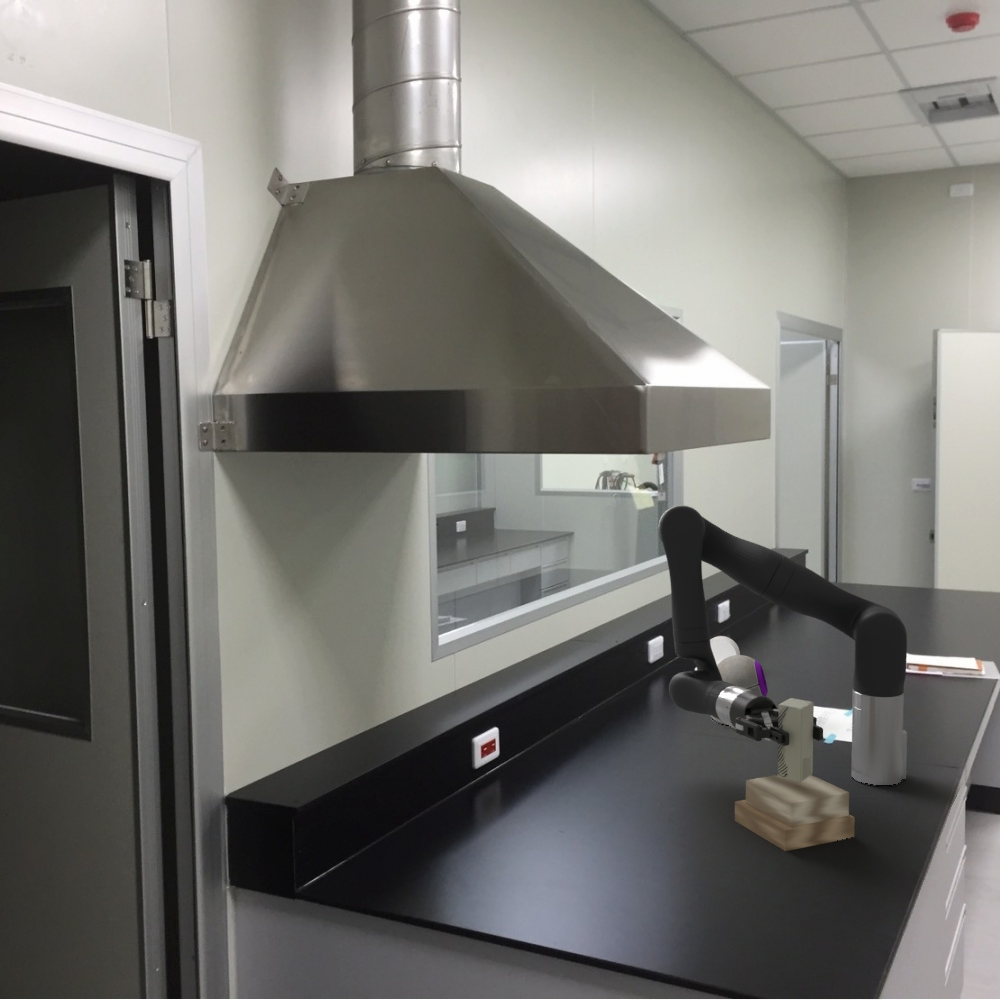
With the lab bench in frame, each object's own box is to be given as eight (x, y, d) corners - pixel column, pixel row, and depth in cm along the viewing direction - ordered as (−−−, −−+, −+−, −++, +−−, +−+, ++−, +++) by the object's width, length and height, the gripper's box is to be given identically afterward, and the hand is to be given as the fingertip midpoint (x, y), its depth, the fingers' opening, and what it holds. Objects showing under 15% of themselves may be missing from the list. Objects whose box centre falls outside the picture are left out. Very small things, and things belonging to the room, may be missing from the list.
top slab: (800, 792, 188) (801, 770, 188) (848, 815, 177) (849, 792, 177) (745, 802, 183) (745, 780, 183) (791, 827, 172) (791, 803, 172)
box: (789, 769, 183) (790, 696, 182) (813, 775, 181) (815, 701, 179) (775, 778, 179) (777, 703, 178) (800, 783, 176) (802, 708, 175)
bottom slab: (800, 811, 190) (800, 789, 190) (854, 840, 177) (854, 817, 177) (734, 823, 185) (734, 801, 184) (785, 854, 172) (785, 830, 171)
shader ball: (766, 729, 237) (767, 663, 236) (708, 725, 241) (708, 660, 239) (768, 713, 250) (768, 650, 248) (712, 710, 253) (713, 648, 252)
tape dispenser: (746, 671, 291) (746, 632, 290) (729, 686, 275) (730, 645, 274) (711, 667, 296) (711, 629, 295) (693, 682, 280) (693, 642, 279)
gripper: (712, 694, 189) (769, 720, 174) (778, 686, 195) (840, 710, 179) (711, 735, 190) (768, 764, 175) (778, 726, 195) (839, 753, 180)
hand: (804, 737), depth 177 cm, fingers closed on box, 6 cm apart
